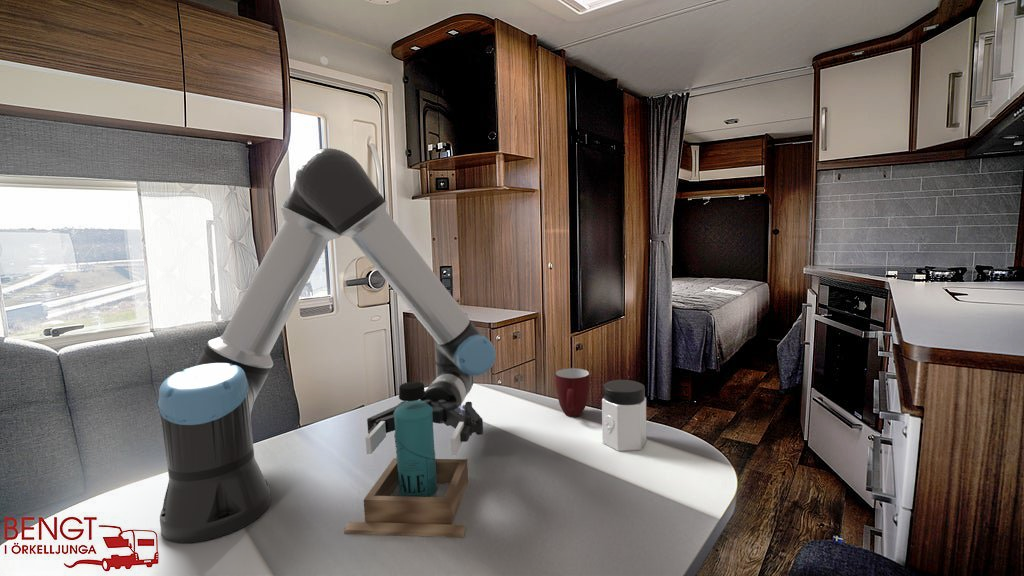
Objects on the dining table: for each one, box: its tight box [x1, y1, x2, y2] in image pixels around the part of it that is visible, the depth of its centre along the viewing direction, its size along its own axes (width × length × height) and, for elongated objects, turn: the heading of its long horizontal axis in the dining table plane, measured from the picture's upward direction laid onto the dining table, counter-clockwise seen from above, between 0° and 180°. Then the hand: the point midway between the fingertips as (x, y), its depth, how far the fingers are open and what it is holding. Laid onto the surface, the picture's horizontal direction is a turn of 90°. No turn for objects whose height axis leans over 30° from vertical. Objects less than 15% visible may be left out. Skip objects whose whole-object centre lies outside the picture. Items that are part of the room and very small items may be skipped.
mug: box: [554, 367, 591, 418], centre depth 113 cm, size 11×8×10 cm
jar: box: [601, 379, 647, 452], centre depth 98 cm, size 9×8×12 cm
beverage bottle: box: [393, 381, 438, 497], centre depth 78 cm, size 6×7×20 cm
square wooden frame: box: [343, 457, 469, 538], centre depth 78 cm, size 18×16×4 cm
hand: (410, 446), depth 75 cm, fingers open, 13 cm apart
